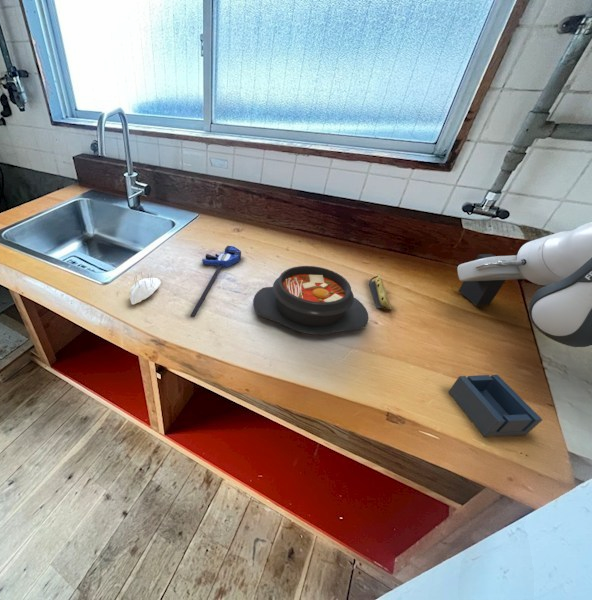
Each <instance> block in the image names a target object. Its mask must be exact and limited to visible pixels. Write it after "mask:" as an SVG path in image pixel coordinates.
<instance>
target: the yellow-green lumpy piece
mask: <svg viewBox="0 0 592 600" xmlns="http://www.w3.org/2000/svg"><path fill="white" fill-rule="evenodd" d="M368 286H369V290H370V293H371V297H372V300H373V303H374V305H375V308H376V309H382V310H392V304H391V303H390V301H389V297H388V292H387V290H386V287H385V285H384V281H383V279H382V277H381V276H379V275H375V276H373V277H371V278H370V279H369V281H368Z"/></svg>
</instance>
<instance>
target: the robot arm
mask: <svg viewBox="0 0 592 600" xmlns="http://www.w3.org/2000/svg"><path fill="white" fill-rule="evenodd" d="M457 276H458V280H459V281H460V282H462V283H463V282H465V281H489V280H505V281H509V280H510V281H511V280H527V281H529V282H531V283H532V284H535V285H538V286H542V287H540V288H539V289H538V290H536V291H534V294H533V295H532V297H531V299H530V302H529V307H528V315H529V319H530V321H531V323H532V325H533V326H534V327H535V329H536V330H537V331H539V332H540V334H542V335H543V336H545V337H547V338H548V339H550V340H552V341H554V342H557V343H559V344H561V345H564V346H567V347H573V348H587V347H591V346H592V221H589V222H587V223H584V224H581V225H579V226H578V227H576V228H575V229H572V230H563V231H558V232H555V233H552V234H549V235H545V236H542V237H539V238H536V239H533V240H530V241H527V242H526V243H524V244H522V246H521V247H520V248H519V250H518V252H517V254H515V255H497V256H496V255H495V257H488V258H483V259H478V260H476V259H475V260H470V261H468V262H464V263H461V264H459V265H458V266H457Z"/></svg>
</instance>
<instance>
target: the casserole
mask: <svg viewBox="0 0 592 600" xmlns="http://www.w3.org/2000/svg"><path fill="white" fill-rule="evenodd" d="M252 302H253V303H252V305H253V308H254V310H255V312H256V314H258V315H259V316H260V317H262V318H265V319H267V320H271V321H274V322H276V323H278V324H281V325H283V326H285V327H287V328H289V329H291V330H294V331H297V332H300V333H303V334H308V335H318V336H319V335H329V334H331V335H332V334H334V333H340V332H345V331H358V330H362V329H364V328H366V326H367V325H368V323H369V313H368V310H367V308H366V307H365V306H364V303H362V302H361V301H360V300H359V299H357V298H356V297H355V296H354V293H353V290H352V287H351V284H350V282H348V280H347V279H346V278H345V277H344V276H342V275H341V274H340V273H338V272H336V271H333V270H331V269H328V268H325V267H321V266H315V265H298V266H293V267H290V268H288V269H285V270H284V271H283V272H281V273H280V275H279V277H277V278H276V279H275V281H274V282H273V284H272V286H266V287H262V288H261V289H259V290H258V291H257V292H256V293H255V295H254V297H253V299H252Z"/></svg>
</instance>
